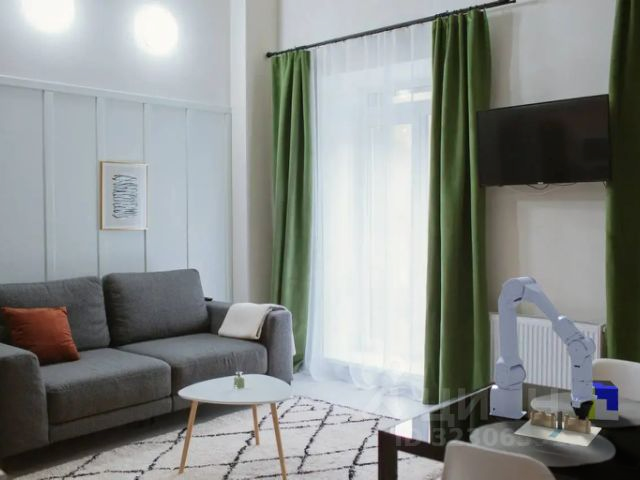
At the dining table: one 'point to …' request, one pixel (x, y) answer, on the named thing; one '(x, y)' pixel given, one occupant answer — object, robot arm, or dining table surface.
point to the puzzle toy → (604, 401)
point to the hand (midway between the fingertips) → (582, 426)
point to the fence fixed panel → (546, 419)
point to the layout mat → (558, 434)
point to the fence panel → (577, 424)
